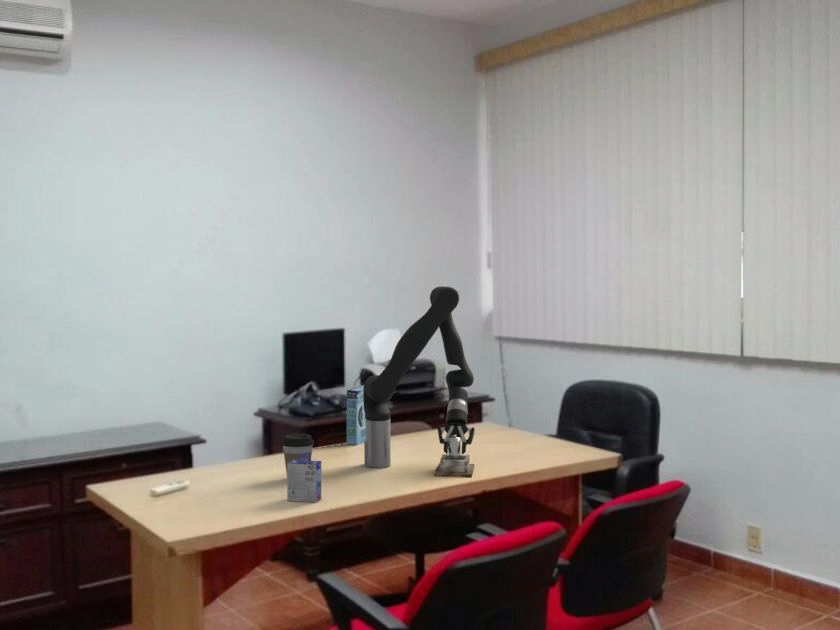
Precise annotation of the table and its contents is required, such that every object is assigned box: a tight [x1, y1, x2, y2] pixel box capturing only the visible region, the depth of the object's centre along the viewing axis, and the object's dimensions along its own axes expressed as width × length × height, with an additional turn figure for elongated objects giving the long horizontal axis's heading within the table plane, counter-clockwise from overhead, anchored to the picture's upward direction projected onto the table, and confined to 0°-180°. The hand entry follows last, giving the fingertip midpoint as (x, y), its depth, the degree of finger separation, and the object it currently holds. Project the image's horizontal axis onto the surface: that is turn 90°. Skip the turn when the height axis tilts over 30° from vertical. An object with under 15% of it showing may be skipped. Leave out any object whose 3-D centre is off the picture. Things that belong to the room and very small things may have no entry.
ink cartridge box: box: [286, 453, 322, 503], centre depth 270 cm, size 10×6×14 cm, turn 78°
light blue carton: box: [346, 384, 366, 446], centre depth 364 cm, size 20×5×23 cm, turn 161°
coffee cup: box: [281, 433, 315, 474], centre depth 297 cm, size 11×11×15 cm
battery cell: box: [448, 435, 462, 460], centre depth 309 cm, size 4×4×12 cm
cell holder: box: [434, 453, 475, 478], centre depth 308 cm, size 13×16×5 cm
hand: (454, 452), depth 306 cm, fingers open, 5 cm apart
